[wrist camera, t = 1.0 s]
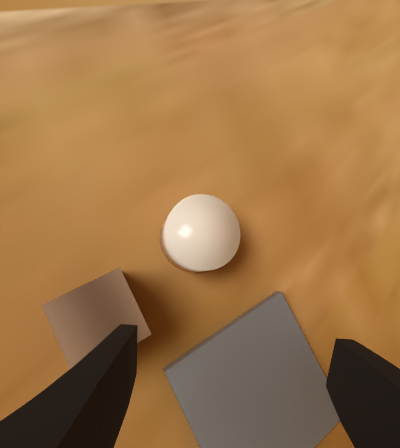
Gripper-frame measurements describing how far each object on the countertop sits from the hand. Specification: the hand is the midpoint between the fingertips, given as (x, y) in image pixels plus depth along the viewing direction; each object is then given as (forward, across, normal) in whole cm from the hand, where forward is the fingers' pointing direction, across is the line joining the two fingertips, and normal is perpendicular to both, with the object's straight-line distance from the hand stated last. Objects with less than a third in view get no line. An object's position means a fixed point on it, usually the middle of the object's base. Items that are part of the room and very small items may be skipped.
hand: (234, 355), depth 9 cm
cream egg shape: (+14, +2, 0) cm, 14 cm away
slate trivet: (+10, -4, +11) cm, 16 cm away
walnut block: (+9, +8, +5) cm, 13 cm away
